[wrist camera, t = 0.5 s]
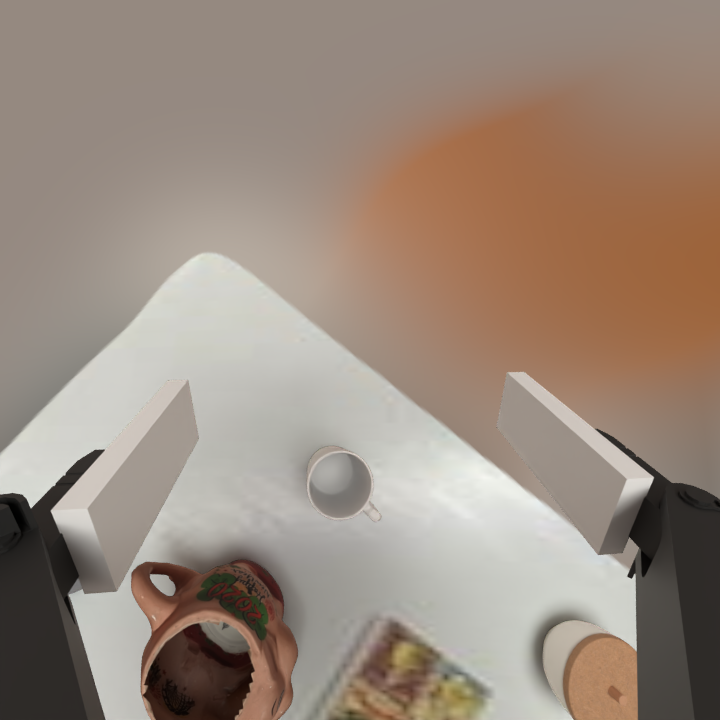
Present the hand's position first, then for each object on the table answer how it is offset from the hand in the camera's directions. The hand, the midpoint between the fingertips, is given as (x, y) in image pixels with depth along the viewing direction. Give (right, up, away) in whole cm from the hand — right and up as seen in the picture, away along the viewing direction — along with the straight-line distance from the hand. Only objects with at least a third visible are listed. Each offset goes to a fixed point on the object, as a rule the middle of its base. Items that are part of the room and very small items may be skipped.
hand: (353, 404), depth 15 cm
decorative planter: (-16, -27, +29) cm, 42 cm away
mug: (-2, -14, +33) cm, 36 cm away
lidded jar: (+28, -37, +34) cm, 58 cm away
